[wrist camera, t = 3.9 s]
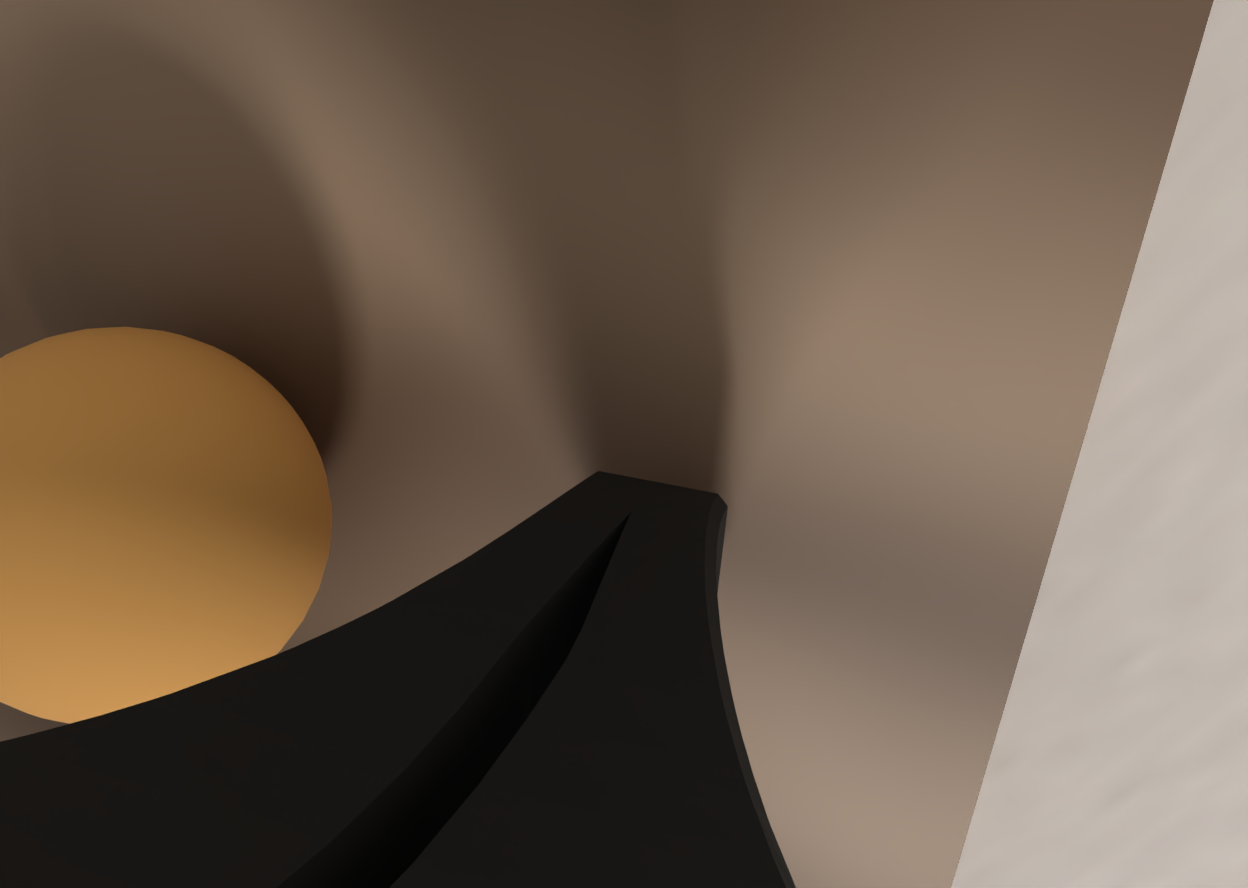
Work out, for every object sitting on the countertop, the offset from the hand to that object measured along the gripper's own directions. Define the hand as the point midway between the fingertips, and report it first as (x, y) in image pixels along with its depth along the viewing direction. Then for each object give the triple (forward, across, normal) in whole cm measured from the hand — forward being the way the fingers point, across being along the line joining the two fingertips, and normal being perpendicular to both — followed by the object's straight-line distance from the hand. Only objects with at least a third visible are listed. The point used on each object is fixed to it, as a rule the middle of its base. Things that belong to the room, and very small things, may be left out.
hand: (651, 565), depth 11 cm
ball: (-1, +5, 0) cm, 5 cm away
